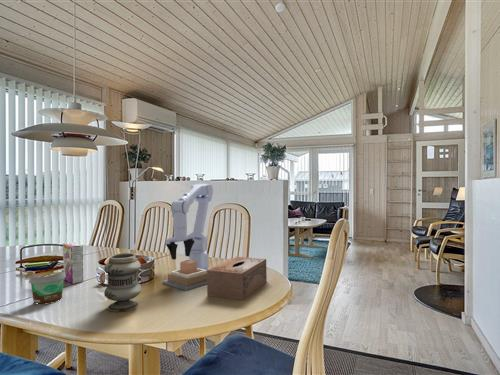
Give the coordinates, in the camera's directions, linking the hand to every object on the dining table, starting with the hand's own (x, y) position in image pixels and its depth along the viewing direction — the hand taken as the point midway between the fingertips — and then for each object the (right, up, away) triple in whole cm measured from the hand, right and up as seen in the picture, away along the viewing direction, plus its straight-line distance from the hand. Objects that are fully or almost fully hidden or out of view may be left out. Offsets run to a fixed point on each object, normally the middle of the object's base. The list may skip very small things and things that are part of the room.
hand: (180, 257), depth 148 cm
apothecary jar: (-13, -10, -33) cm, 37 cm away
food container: (-42, -11, -26) cm, 51 cm away
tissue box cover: (+26, -10, -13) cm, 31 cm away
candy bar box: (-48, -11, 0) cm, 49 cm away
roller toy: (-31, -11, -4) cm, 33 cm away
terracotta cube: (+4, -6, -4) cm, 8 cm away
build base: (+5, -10, -4) cm, 12 cm away
